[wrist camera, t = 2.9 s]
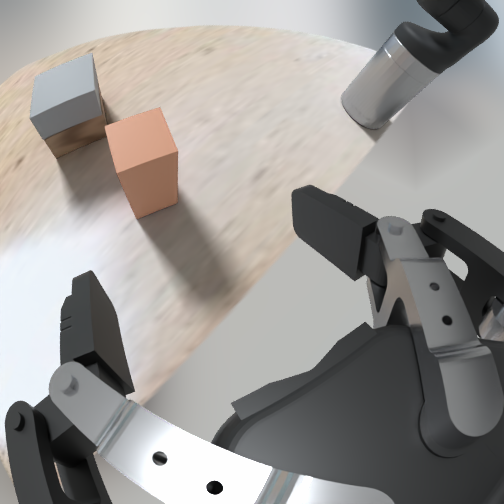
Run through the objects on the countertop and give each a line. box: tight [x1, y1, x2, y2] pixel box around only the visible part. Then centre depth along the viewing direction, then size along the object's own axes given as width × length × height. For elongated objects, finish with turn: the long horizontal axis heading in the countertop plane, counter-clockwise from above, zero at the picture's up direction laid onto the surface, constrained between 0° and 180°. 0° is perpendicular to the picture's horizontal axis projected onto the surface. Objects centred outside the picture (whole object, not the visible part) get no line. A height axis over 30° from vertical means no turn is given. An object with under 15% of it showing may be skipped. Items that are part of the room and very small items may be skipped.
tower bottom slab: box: [44, 84, 107, 159], centre depth 27 cm, size 8×8×4 cm
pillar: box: [105, 107, 178, 219], centre depth 24 cm, size 5×5×11 cm
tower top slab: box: [30, 53, 102, 140], centre depth 22 cm, size 8×8×4 cm
